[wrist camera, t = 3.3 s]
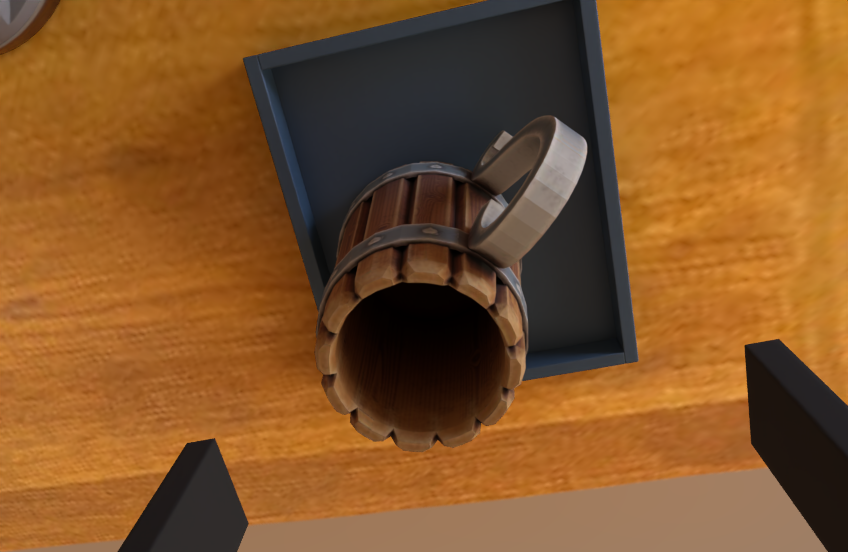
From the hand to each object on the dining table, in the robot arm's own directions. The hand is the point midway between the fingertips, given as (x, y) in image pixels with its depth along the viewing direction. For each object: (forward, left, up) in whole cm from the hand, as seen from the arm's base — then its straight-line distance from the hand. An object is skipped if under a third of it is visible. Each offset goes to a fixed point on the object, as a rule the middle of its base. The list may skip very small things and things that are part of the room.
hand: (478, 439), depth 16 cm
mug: (-1, -1, -24) cm, 24 cm away
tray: (-1, -1, -24) cm, 24 cm away
